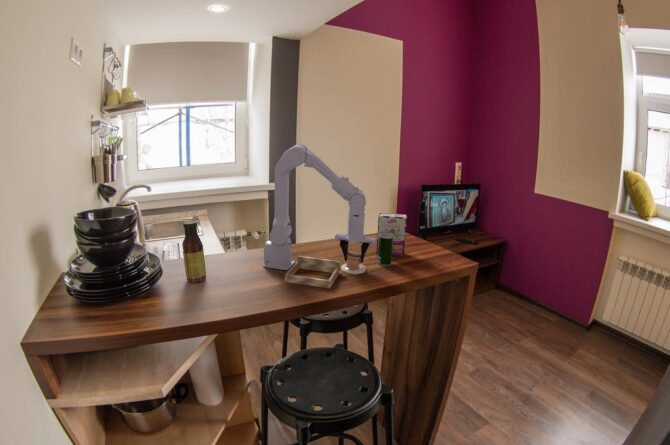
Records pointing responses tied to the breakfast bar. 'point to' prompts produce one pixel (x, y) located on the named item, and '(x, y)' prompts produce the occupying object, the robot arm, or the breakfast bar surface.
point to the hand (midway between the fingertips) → (353, 261)
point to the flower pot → (353, 260)
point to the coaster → (353, 271)
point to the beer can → (385, 248)
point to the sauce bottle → (193, 254)
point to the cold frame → (315, 265)
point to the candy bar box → (393, 231)
